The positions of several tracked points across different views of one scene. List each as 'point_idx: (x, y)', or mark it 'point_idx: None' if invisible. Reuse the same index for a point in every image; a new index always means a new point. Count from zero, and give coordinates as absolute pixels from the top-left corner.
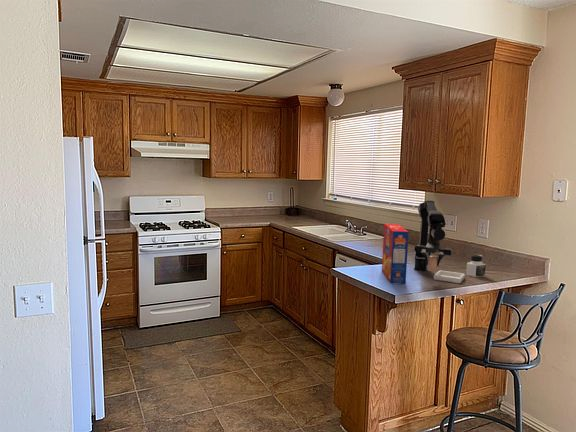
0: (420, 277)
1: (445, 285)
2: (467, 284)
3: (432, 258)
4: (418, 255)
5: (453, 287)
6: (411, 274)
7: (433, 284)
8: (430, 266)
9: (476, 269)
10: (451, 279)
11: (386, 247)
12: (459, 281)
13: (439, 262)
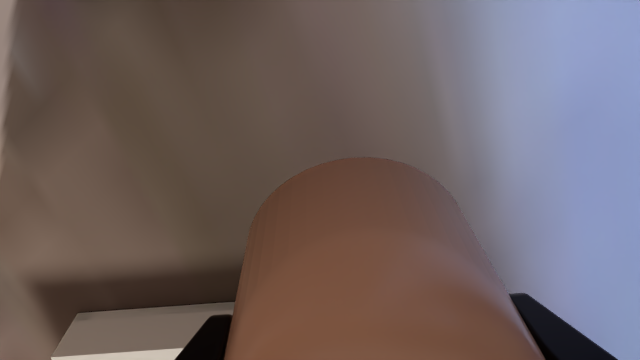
0: (516, 281)
1: (147, 142)
2: (6, 329)
3: None
4: None
5: (20, 115)
6: (626, 326)
7: (292, 82)
8: (396, 212)
9: None
10: (158, 332)
11: None
12: (70, 331)
13: None
